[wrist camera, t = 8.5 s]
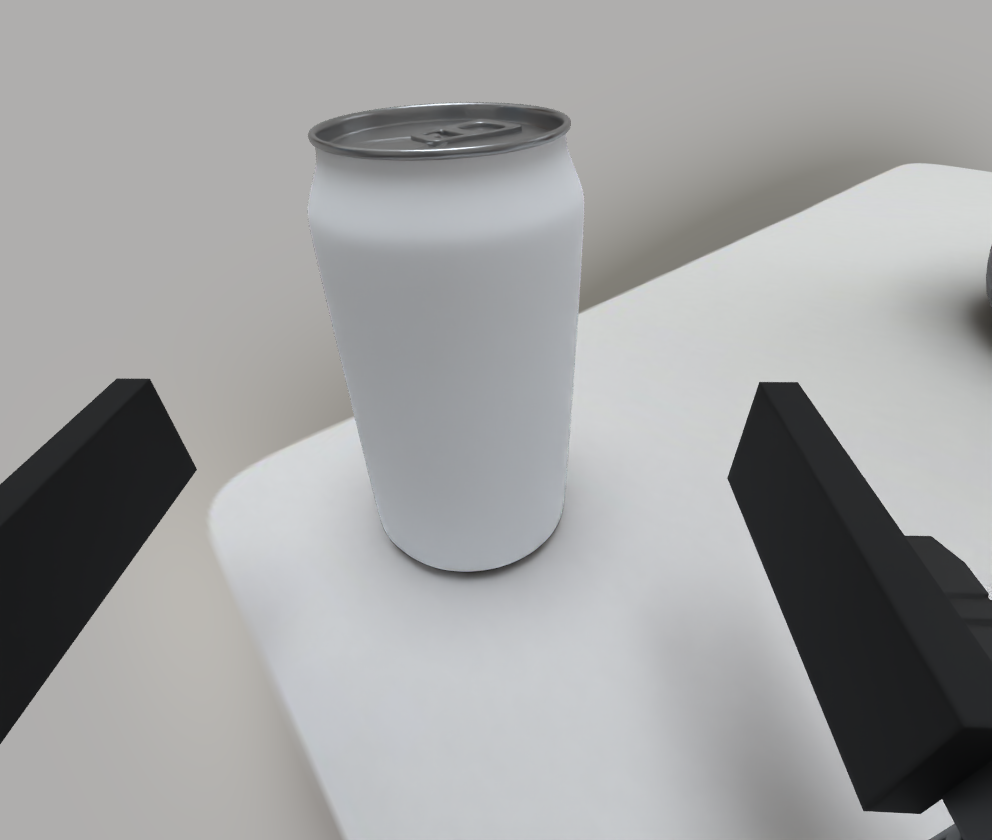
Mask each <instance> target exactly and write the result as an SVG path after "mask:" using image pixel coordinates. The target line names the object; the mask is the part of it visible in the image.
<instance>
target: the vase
mask: <svg viewBox="0 0 992 840" xmlns="http://www.w3.org/2000/svg"><path fill="white" fill-rule="evenodd" d="M986 284H987V295H988V299H989V303H990V305H991V307H992V246H991V249H990V254H989V259H988V264H987V274H986Z"/></svg>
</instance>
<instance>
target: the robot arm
mask: <svg viewBox="0 0 992 840" xmlns="http://www.w3.org/2000/svg"><path fill="white" fill-rule="evenodd" d="M196 470H197V469H196V467H195V465H194V463H193V461H192V459H191V457H190V455H189V453H188V451H187V449H186V448H185V446H184V444H183V442H182V440H181V438H180V436H179V434H178V432H177V430H176V428H175V426H174V424H173V422H172V421H171V419H170V417H169V415H168V413H167V411H166V409H165V407H164V405H163V403H162V401H161V399H160V397H159V396H158V394H157V392H156V390H155V388H154V386H153V384H152V383H151V381H150V379H116V380H115V381H114V382H113V383H112V384H110V385H109V386H108V387H107V388H106V389H105V390H104V391H103V392H102V393H101V394H99V395H98V396H97V397H96V398H95V399H94V400H93V401H92V402H91V403H90V404H88V405H87V406H86V407H85V408H84V409H83V410H82V411H81V412H80V413H79V414H77V415H76V416H75V417H74V418H73V419H72V420H71V421H70V422H69V423H68V424H66V425H65V426H64V427H63V428H62V429H61V430H60V431H59V432H58V433H56V434H55V435H54V436H53V437H52V438H51V439H50V440H49V441H48V442H47V443H46V444H44V445H43V446H42V447H41V448H40V449H39V450H38V451H37V452H36V453H35V454H34V455H32V456H31V457H30V458H29V459H28V460H27V461H26V462H25V463H24V464H22V465H21V466H20V467H19V468H18V469H17V470H16V471H15V472H14V473H13V474H12V475H10V476H9V477H8V478H7V479H6V480H5V481H4V482H3V483H1V484H0V744H1V742H2V741H3V739H4V738H5V737H6V735H7V734H8V732H9V731H10V730H11V728H12V727H13V726H14V724H15V723H16V721H17V720H18V718H19V717H20V716H21V714H22V713H23V712H24V710H25V709H26V707H27V706H28V705H29V703H30V702H31V700H32V699H33V698H34V696H35V695H36V693H37V692H38V691H39V689H40V688H41V686H42V685H43V684H44V682H45V681H46V679H47V678H48V677H49V675H50V674H51V672H52V671H53V670H54V668H55V667H56V666H57V664H58V663H59V661H60V660H61V659H62V657H63V656H64V654H65V653H66V652H67V650H68V649H69V647H70V646H71V645H72V643H73V642H74V640H75V639H76V638H77V636H78V635H79V633H80V632H81V631H82V629H83V628H84V626H85V625H86V624H87V622H88V621H89V619H90V618H91V617H92V615H93V614H94V612H95V611H96V610H97V608H98V607H99V606H100V604H101V602H102V601H103V600H104V599H105V597H106V595H107V594H108V593H109V592H110V590H111V589H112V587H113V586H114V584H115V583H116V582H117V580H118V579H119V577H120V576H121V575H122V573H123V572H124V570H125V569H126V568H127V566H128V565H129V564H130V562H131V561H132V559H133V558H134V556H135V555H136V554H137V552H138V551H139V550H140V548H141V547H142V545H143V544H144V543H145V541H146V540H147V538H148V537H149V536H150V534H151V533H152V532H153V530H154V529H155V527H156V526H157V525H158V523H159V522H160V520H161V519H162V517H163V516H164V515H165V513H166V512H167V511H168V509H169V508H170V506H171V505H172V504H173V502H174V501H175V499H176V498H177V497H178V495H179V494H180V492H181V491H182V490H183V488H184V487H185V485H186V484H187V483H188V481H189V480H190V478H191V477H192V476H193V474H194V473H195V471H196ZM728 481H729V483H730V486H731V488H732V490H733V493H734V495H735V498H736V500H737V503H738V505H739V508H740V510H741V513H742V515H743V517H744V520H745V522H746V525H747V527H748V530H749V532H750V535H751V537H752V539H753V542H754V544H755V547H756V549H757V552H758V554H759V557H760V559H761V561H762V564H763V566H764V569H765V571H766V574H767V576H768V579H769V581H770V583H771V586H772V588H773V591H774V593H775V596H776V598H777V601H778V603H779V605H780V608H781V610H782V613H783V615H784V618H785V620H786V623H787V625H788V627H789V630H790V632H791V635H792V637H793V640H794V642H795V645H796V647H797V650H798V652H799V654H800V657H801V659H802V662H803V664H804V667H805V669H806V672H807V674H808V676H809V679H810V681H811V684H812V686H813V689H814V691H815V694H816V696H817V698H818V701H819V703H820V706H821V708H822V711H823V713H824V716H825V718H826V720H827V723H828V725H829V728H830V730H831V733H832V735H833V738H834V740H835V742H836V745H837V747H838V750H839V752H840V755H841V757H842V760H843V762H844V765H845V767H846V769H847V772H848V774H849V777H850V779H851V782H852V784H853V787H854V789H855V791H856V794H857V796H858V799H859V801H860V804H861V806H862V809H863V811H875V812H894V813H913V814H921V813H922V812H924V811H925V810H927V809H928V808H930V807H931V806H932V805H934V804H935V803H937V802H938V801H939V800H941V799H943V801H944V803H945V805H946V807H947V809H948V811H949V813H950V815H951V817H952V819H953V821H954V823H955V824H953V825H952V826H950V827H949V828H947V829H945V830H944V831H942V832H941V833H939V834H937V835H936V836H934V837H933V838H931V839H930V840H992V600H990V599H989V598H988V595H989V594H988V592H987V591H986V590H985V588H984V587H983V586H982V584H981V583H980V582H979V581H978V579H977V578H976V577H975V575H974V574H973V573H972V571H971V570H970V569H969V568H968V566H967V565H966V564H965V563H964V562H963V561H962V560H961V559H959V558H958V557H957V556H956V555H954V554H953V553H952V552H950V551H949V550H948V549H947V548H945V547H944V546H943V545H942V544H940V543H939V542H938V541H937V540H935V539H934V538H933V537H932V536H904V534H903V533H902V532H901V530H900V529H899V527H898V526H897V524H896V523H895V521H894V520H893V519H892V517H891V516H890V514H889V513H888V511H887V510H886V509H885V507H884V506H883V504H882V503H881V501H880V500H879V498H878V497H877V496H876V494H875V493H874V491H873V490H872V488H871V487H870V486H869V484H868V483H867V481H866V480H865V478H864V477H863V475H862V474H861V473H860V471H859V470H858V468H857V467H856V465H855V464H854V463H853V461H852V460H851V458H850V457H849V455H848V454H847V452H846V451H845V450H844V448H843V447H842V445H841V444H840V442H839V441H838V440H837V438H836V437H835V435H834V434H833V432H832V431H831V429H830V428H829V427H828V425H827V424H826V422H825V421H824V419H823V418H822V417H821V415H820V414H819V412H818V411H817V409H816V408H815V406H814V405H813V404H812V402H811V401H810V399H809V398H808V396H807V395H806V394H805V392H804V391H803V389H802V388H801V386H800V385H799V383H798V382H759V385H758V388H757V391H756V394H755V397H754V400H753V403H752V406H751V409H750V412H749V415H748V418H747V421H746V424H745V427H744V430H743V433H742V436H741V439H740V442H739V445H738V448H737V451H736V454H735V457H734V460H733V463H732V466H731V469H730V472H729V475H728Z"/></svg>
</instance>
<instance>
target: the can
mask: <svg viewBox="0 0 992 840" xmlns="http://www.w3.org/2000/svg"><path fill="white" fill-rule="evenodd" d="M570 126H571V121H570V118H569V117H568V116H567V115H565V114H564V113H561V112H559V111H556V110H553V109H548V108H544V107H538V106H531V105H522V104H510V103H484V102H482V103H481V102H479V103H478V102H473V103H472V102H469V103H468V102H465V103H436V104H420V105H409V106H399V107H390V108H382V109H375V110H369V111H363V112H358V113H353V114H348V115H344V116H340V117H337V118H333V119H330V120H327V121H324V122H322V123H319V124H317V125H316V126H314V127H313V128H312V129H311V130H310V131H309V133H308V137H309V140H310V142H311V143H312V145H313V146H315V148H316V167H315V172H314V177H313V181H312V186H311V190H310V195H309V201H308V210H307V212H308V220H309V227H310V232H311V236H312V241H313V246H314V250H315V255H316V259H317V263H318V267H319V272H320V276H321V280H322V284H323V289H324V293H325V297H326V301H327V305H328V309H329V314H330V317H331V322H332V326H333V330H334V334H335V338H336V342H337V347H338V351H339V355H340V359H341V363H342V367H343V371H344V375H345V379H346V384H347V387H348V391H349V396H350V400H351V404H352V408H353V412H354V416H355V420H356V424H357V428H358V433H359V437H360V441H361V445H362V449H363V453H364V457H365V461H366V465H367V469H368V473H369V477H370V481H371V485H372V489H373V493H374V497H375V501H376V504H377V508H378V512H379V516H380V519H381V522H382V525H383V528H384V530H385V532H386V534H387V535H388V537H389V538H390V539H391V540H392V542H393V543H394V544H395V545H396V546H397V547H399V548H400V549H401V550H402V551H404V552H405V553H406V554H408V555H409V556H411V557H412V558H414V559H416V560H418V561H420V562H422V563H424V564H426V565H429V566H432V567H435V568H439V569H444V570H450V571H460V572H472V571H483V570H489V569H494V568H498V567H501V566H505V565H508V564H510V563H513V562H515V561H517V560H519V559H521V558H523V557H525V556H527V555H528V554H530V553H532V552H533V551H534V550H536V549H537V548H538V547H539V546H541V545H542V544H543V543H544V542H545V541H546V540H547V539H548V538H549V536H550V535H551V534H552V533H553V531H554V530H555V528H556V526H557V524H558V522H559V520H560V517H561V514H562V511H563V505H564V497H565V487H566V475H567V462H568V449H569V436H570V422H571V408H572V394H573V380H574V366H575V352H576V337H577V323H578V308H579V292H580V278H581V263H582V245H583V229H584V194H583V190H582V187H581V183H580V180H579V177H578V175H577V172H576V170H575V167H574V165H573V162H572V160H571V157H570V154H569V151H568V148H567V142H566V133H567V132H568V130H569V129H570Z"/></svg>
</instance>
